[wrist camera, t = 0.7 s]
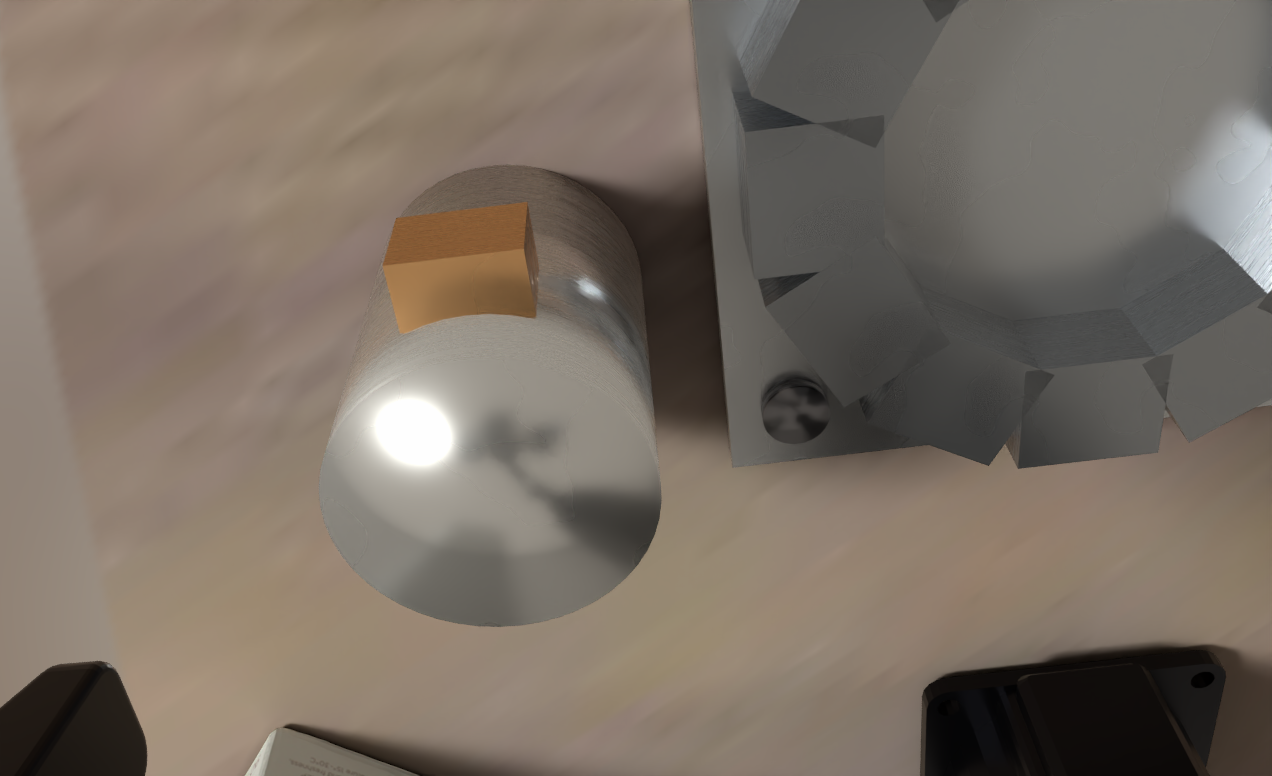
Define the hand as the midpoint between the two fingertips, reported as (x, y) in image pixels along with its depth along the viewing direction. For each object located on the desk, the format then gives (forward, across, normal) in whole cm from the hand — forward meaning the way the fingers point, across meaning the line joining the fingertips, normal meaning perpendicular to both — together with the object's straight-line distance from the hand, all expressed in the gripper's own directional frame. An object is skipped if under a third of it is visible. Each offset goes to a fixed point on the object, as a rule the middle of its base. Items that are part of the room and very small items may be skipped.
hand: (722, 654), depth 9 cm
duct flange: (+12, -7, +1) cm, 14 cm away
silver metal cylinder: (+12, +3, +3) cm, 13 cm away
